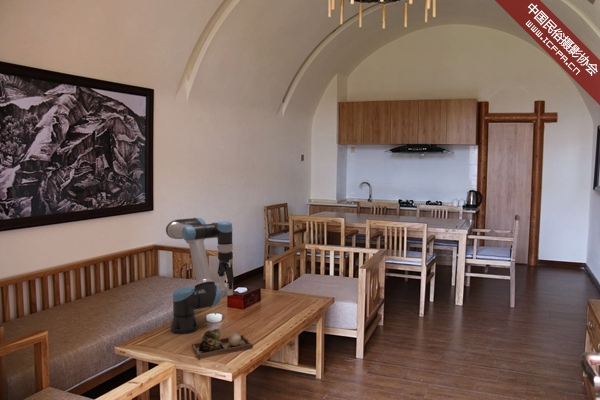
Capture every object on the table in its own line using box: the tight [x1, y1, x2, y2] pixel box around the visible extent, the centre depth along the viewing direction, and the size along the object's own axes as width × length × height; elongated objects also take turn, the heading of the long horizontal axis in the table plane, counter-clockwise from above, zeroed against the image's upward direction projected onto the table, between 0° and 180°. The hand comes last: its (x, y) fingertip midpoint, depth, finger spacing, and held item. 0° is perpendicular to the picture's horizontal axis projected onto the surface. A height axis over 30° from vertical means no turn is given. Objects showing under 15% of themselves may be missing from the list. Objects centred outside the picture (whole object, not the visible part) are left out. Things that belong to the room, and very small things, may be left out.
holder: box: [191, 334, 254, 361], centre depth 247 cm, size 14×27×3 cm, turn 117°
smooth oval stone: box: [227, 332, 241, 346], centre depth 249 cm, size 7×7×7 cm
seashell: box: [199, 328, 221, 352], centre depth 244 cm, size 11×11×10 cm
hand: (225, 291), depth 255 cm, fingers open, 13 cm apart
